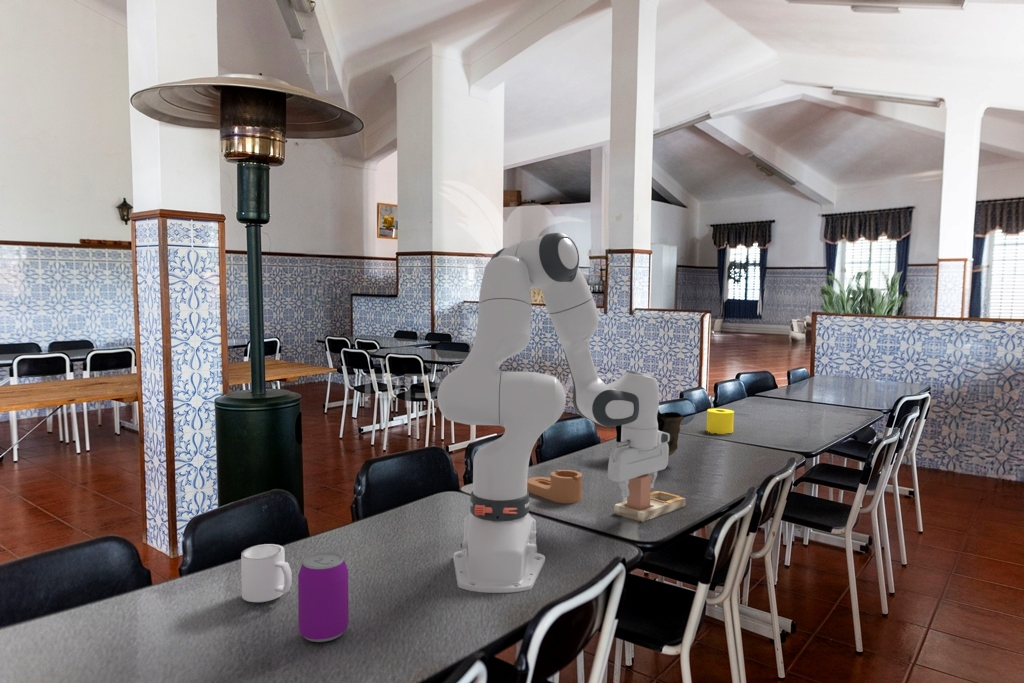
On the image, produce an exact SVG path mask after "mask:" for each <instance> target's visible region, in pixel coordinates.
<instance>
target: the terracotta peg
mask: <svg viewBox="0 0 1024 683" xmlns="http://www.w3.org/2000/svg"><path fill="white" fill-rule="evenodd" d="M627 485H628V488H629V489H631V496H629V497H626V501H627V507H630V508H634V509H637V510H640V511H642V510H644V509H647V508H650V494H651V492H652V491H651V490H652V489H651V476H649V475H648V474H646V475H643V476H639V477H636V478H633V479H629V484H627Z"/></svg>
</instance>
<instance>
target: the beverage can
mask: <svg viewBox="0 0 1024 683" xmlns="http://www.w3.org/2000/svg"><path fill="white" fill-rule="evenodd" d="M297 586H298V587H297V598H298V599H297V600H298V601H297V603H298V606H297V607H298V610H297V612H298V614H297V616H298V619H297V621H298V631H299V634H300V635H301V636H302V637H303V638H305V639H306V640H307V641H310V642H313V643H314V642H315V643H325V642H328V641H329V642H330V641H333V640H336V639H337V638H339V637H341V636H342V634H344V633H345V631H346V630H347V629H348V626H349V620H350V619H349V618H350V617H349V614H350V613H349V606H350V604H349V568H348V566H347V564H346V560H345V558H344V556H343V554H342V553H340V552H336V551H328V550H327V551H319V552H315V553H314V552H313V553H311V554H308V555H306V556H305V557H303V561H302V563H301V566H300V569H299V572H298V574H297Z"/></svg>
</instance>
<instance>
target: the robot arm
mask: <svg viewBox="0 0 1024 683" xmlns="http://www.w3.org/2000/svg"><path fill="white" fill-rule="evenodd" d="M579 266H580V254H579V250H578V247H577V246H576V243H575V242H574V240H573V239H571V238H570V236H568V235H567V234H565V233H563V232H552V233H551V232H550V233H546V234H545V235H542V236H537V237H533V238H530V239H529V238H528V239H524V240H521V241H519V242H516V243H514V244H511V245H510V246H508V247H503V248H501V249H500V250H498V251H496V253H494V254H493V255H492V257H490V260H489V261H488V262H487V263H486V265H485V268H484V270H483V275H482V279H481V283H480V289H479V296H478V308H477V310H478V311H477V312H478V313H477V324H476V332H475V338H474V342H473V344H472V347H471V350H470V352H469V354H468V355H467V356H466V358H465V359H464V360H463V361H462V363H461V364H460V365H459V366H457V367H456V368H455V369H454V370H453V371H451V372H450V373H448V374H447V375H446V376H445V377H444V378H443V379H442V381H441V382H440V384H439V387H438V389H437V395H436V397H437V398H436V399H437V406H438V409H439V411H440V412H441V415H442V416H443V418H445V419H446V420H447V421H451V422H455V423H458V424H463V425H468V426H500V427H502V428H504V429H505V430H504V434H503V435H502V436H501V437H498V438H497V439H495V440H492V441H490V442H488V443H485V445H482V446H481V447H480V448H479V449H478V450H477V451H476V452H475V454H474V456H473V462H472V463H473V464H472V466H473V468H472V469H473V470H472V475H473V476H472V491H471V492H470V498H469V504H470V505H469V506H470V508H469V509H470V510H469V511H470V512H469V513H468V515H466V516H465V517H464V518H463V541H462V542H460V548H461V550H458V551H455V552H454V553H453V557H452V560H453V566H454V572H455V573H454V574H455V579H456V585H457V587H458V588H460V589H463V590H467V591H469V592H477V593H489V594H490V593H494V594H496V593H497V594H503V593H504V594H505V593H507V594H509V593H519V592H525V591H528V590H531V589H532V588H533V587H534V585H535V583H536V580H537V578H538V576H539V574H540V572H541V570H542V568H543V567H544V564H545V562H546V556H545V555H544V554H542V553H540V552H538V545H537V538H538V531H537V520H536V519H535V518H534V517H533V516H531V514H530V513H529V512H530V504H531V502H530V501H531V499H530V493H529V492H528V491H527V479H529V478H528V477H529V475H528V474H529V466H530V458H531V454H532V450H533V449H534V446H535V444H536V442H537V441H538V440H539V438H540V437H541V435H542V434H543V433H544V432H545V431H546V430H547V429H548V428H550V427H551V426H553V425H554V424H556V423H557V421H558V420H560V418H561V416H562V415H563V413H564V410H565V408H566V403H567V402H566V401H567V397H566V391H565V389H564V386H563V384H562V382H561V381H560V380H559V378H557V377H556V376H554V375H550V374H545V373H541V372H536V371H511V370H510V371H507V370H506V371H505V370H500V367H501V365H502V364H503V363H504V361H506V360H507V359H509V358H512V357H514V356H516V355H518V354H520V353H521V352H523V351H524V350H525V349H526V348H527V347H528V345H529V343H530V342H531V341H530V340H531V332H532V330H531V327H532V290H536V289H538V290H539V289H540V290H541V292H542V296H543V300H544V303H545V307H546V310H547V313H548V316H549V318H550V321H551V323H552V326H553V328H554V330H555V333H556V335H557V337H558V339H559V342H560V344H561V347H562V350H563V353H564V354H563V355H564V357H565V361H566V363H567V367H568V370H569V373H570V376H571V379H572V385H573V386H572V387H573V389H572V390H573V391H572V404H573V407H574V409H575V411H576V413H577V414H578V415H579V416H581V417H582V418H584V419H587V420H589V421H592V422H593V423H596V424H598V425H600V426H603V427H606V428H612V427H613V428H614V427H616V426H619V425H622V429H621V442H617V441H616V443H615V444H614V446H613V447H612V448H611V452H610V453H609V458H608V464H607V465H608V466H607V477H608V479H609V480H610V481H613V482H616V483H618V485H619V488H620V492H621V493H620V495H621V497H623V498H627V497H629V496H631V489H629V488H628V484H629V479H633V478H636V477H639V476H643V475H649V476H651V490H653V489H654V487H655V482H656V479H657V477H658V472H659V471H663V470H666V468H667V466H668V463H669V457H670V456H669V446H668V443H667V442H669V439H670V435H669V434H668V433H665V432H662V431H659V430H658V422H657V413H658V410H659V411H660V394H659V393H660V390H659V382H658V380H657V379H656V378H657V377H655V376H653V375H652V374H649V373H645V372H642V371H641V372H640V371H638V370H629V371H626V372H625V373H624V374H623V375H622V376H621V377H619V378H618V379H615V380H614V381H612V382H610V383H607V384H606V383H605V382H604V381H603V380H602V379H601V378H600V377H599V375H598V373H597V369H596V367H595V363H594V360H593V356H592V354H591V353H592V352H591V348H590V341H591V338H592V337H593V335H594V334H595V333H596V331H597V329H598V327H599V324H600V322H599V313H598V309H597V305H596V302H595V299H594V297H593V294H592V291H591V288H590V286H589V283H588V282H587V280H586V278H585V276H584V274H583V272H582V269H580V267H579Z"/></svg>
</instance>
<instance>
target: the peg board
mask: <svg viewBox="0 0 1024 683" xmlns="http://www.w3.org/2000/svg"><path fill="white" fill-rule="evenodd" d="M685 506H686V498H685V497H682V496H680V495H678V494H677V495H676V494H673V493H669V492H666V491H659V490H657V491H656V490H654V491H651V494H650V508H647V509H644V510H642V511H640V510H637V509H634V508H630V507H627V500H625V501H622V502H619V503H618V502H617V503H615V504H614V510H613V511H614V515H617V516H621V517H624V518H628V519H630V520H635V521H638V522H640V521H641V523H644V522H646V520H647V521H650V520H652V519H654V518H658V517H659V516H663V515H665V514H668V513H671V512H673V511H675V510H678V509H681V508H684V507H685ZM649 519H650V520H649Z"/></svg>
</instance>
